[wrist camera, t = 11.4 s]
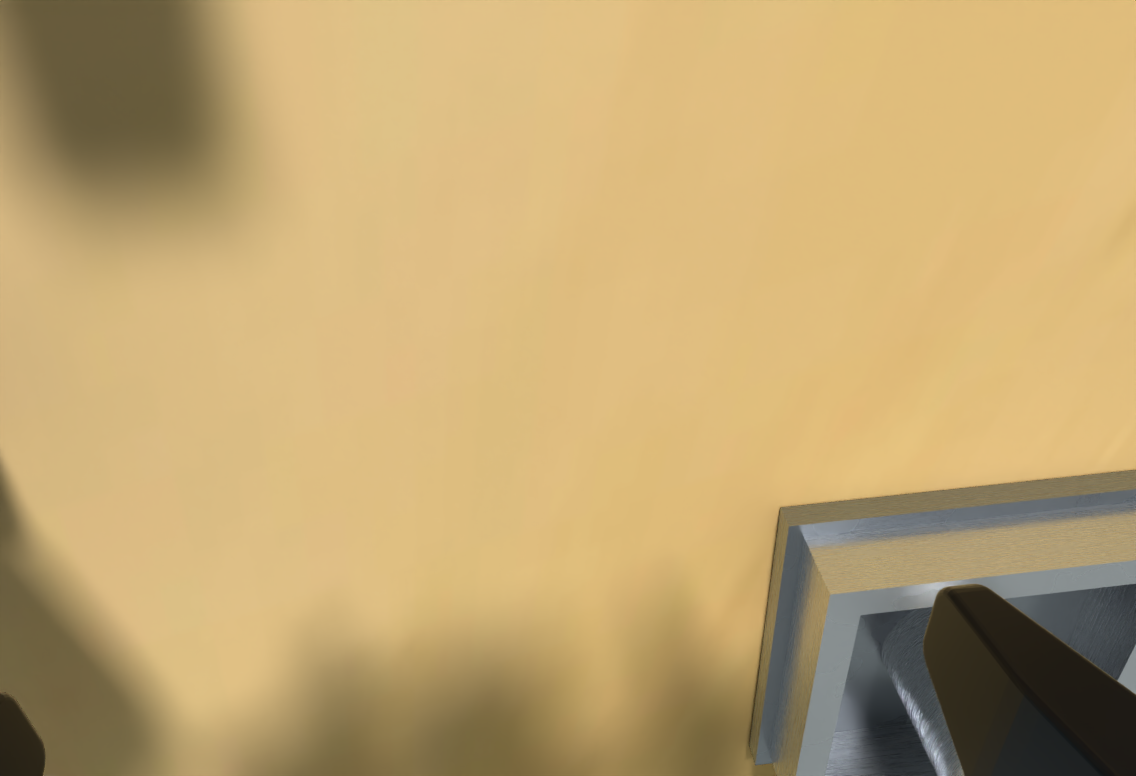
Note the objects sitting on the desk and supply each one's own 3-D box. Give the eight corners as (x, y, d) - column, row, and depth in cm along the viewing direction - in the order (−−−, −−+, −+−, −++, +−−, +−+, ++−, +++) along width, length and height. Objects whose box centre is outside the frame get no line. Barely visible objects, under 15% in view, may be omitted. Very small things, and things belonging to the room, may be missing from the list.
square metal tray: (749, 745, 33) (773, 823, 31) (780, 507, 26) (814, 583, 24) (1057, 707, 34) (1105, 780, 31) (1167, 466, 27) (1239, 536, 24)
